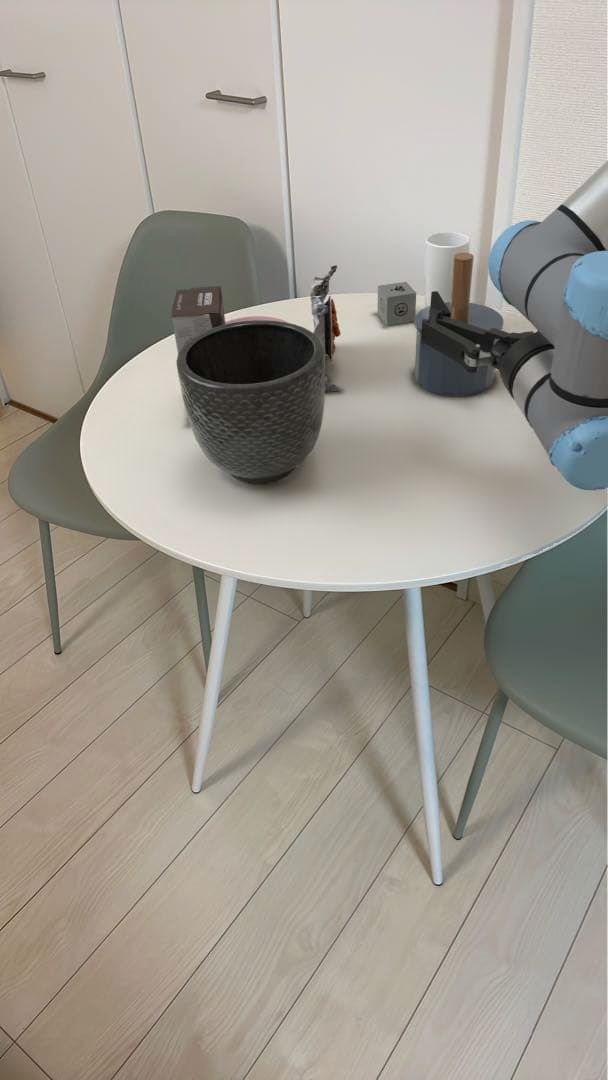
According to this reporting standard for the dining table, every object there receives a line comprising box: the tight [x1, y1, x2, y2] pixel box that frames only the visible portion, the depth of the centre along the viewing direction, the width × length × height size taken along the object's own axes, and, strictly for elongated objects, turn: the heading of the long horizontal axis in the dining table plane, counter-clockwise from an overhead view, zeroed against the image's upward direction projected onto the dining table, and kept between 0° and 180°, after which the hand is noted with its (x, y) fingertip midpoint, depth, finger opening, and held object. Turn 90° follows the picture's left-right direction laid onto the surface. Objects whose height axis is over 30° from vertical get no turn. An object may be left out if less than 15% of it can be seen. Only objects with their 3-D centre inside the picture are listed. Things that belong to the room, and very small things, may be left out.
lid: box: [413, 252, 505, 333], centre depth 103 cm, size 12×12×10 cm
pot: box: [414, 330, 498, 397], centre depth 109 cm, size 11×17×8 cm
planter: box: [176, 320, 326, 485], centre depth 92 cm, size 17×17×16 cm
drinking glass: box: [423, 231, 471, 308], centre depth 118 cm, size 7×7×15 cm
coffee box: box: [170, 285, 226, 355], centre depth 104 cm, size 9×6×16 cm
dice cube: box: [377, 281, 417, 327], centre depth 127 cm, size 5×5×5 cm
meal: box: [310, 265, 342, 393], centre depth 112 cm, size 15×4×13 cm, turn 0°
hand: (486, 298), depth 94 cm, fingers open, 13 cm apart
